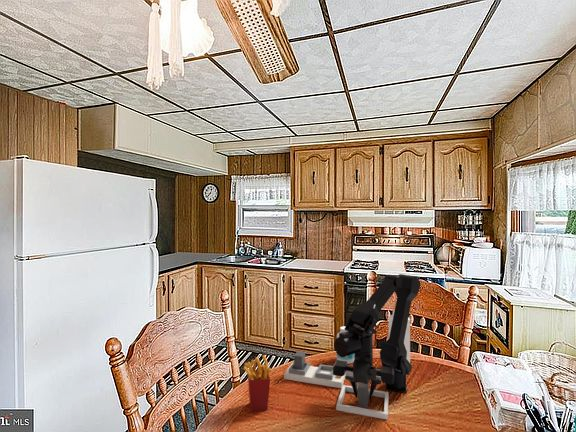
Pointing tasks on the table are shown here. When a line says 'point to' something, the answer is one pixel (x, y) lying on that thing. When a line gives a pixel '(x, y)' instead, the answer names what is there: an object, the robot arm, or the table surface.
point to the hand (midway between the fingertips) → (363, 398)
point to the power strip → (315, 375)
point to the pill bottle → (348, 358)
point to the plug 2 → (363, 395)
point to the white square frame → (362, 410)
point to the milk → (407, 335)
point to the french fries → (258, 384)
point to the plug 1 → (299, 360)
